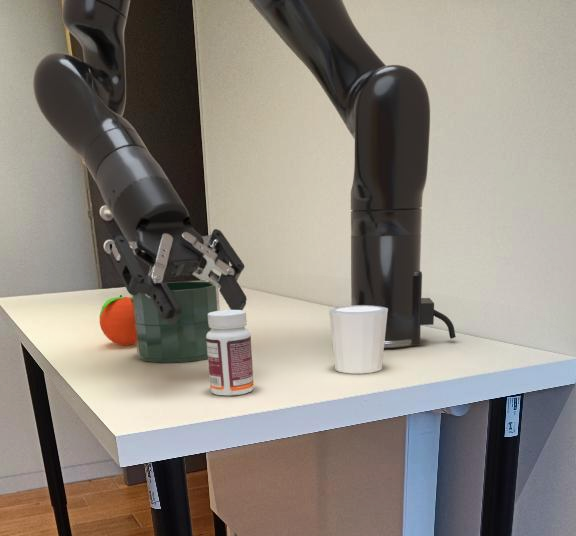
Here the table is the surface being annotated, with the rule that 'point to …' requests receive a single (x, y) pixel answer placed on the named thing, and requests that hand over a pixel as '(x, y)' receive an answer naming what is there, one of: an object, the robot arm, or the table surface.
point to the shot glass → (358, 338)
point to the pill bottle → (229, 353)
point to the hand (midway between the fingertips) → (209, 313)
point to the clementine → (118, 320)
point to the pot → (177, 336)
